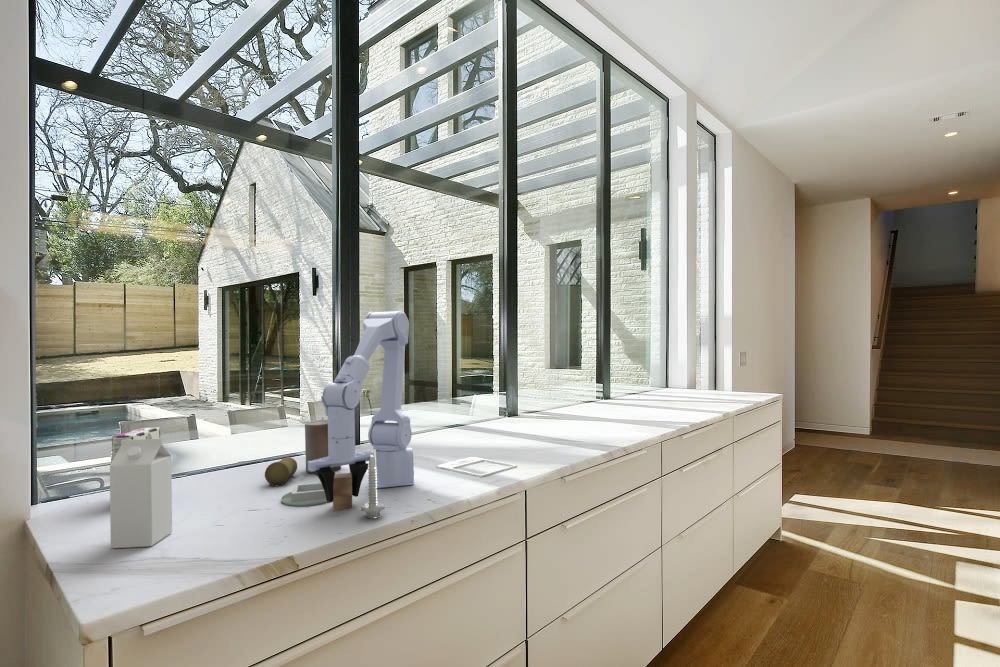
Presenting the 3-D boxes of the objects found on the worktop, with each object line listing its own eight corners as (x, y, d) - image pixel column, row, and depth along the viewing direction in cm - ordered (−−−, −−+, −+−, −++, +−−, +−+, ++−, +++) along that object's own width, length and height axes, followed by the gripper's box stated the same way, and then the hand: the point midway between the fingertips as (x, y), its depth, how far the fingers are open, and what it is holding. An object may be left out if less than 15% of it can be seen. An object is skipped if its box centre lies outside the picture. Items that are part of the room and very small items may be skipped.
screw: (376, 511, 115) (389, 516, 111) (356, 517, 111) (369, 522, 108) (375, 450, 115) (388, 453, 111) (355, 454, 111) (368, 457, 108)
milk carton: (133, 534, 103) (132, 436, 103) (172, 533, 104) (171, 435, 104) (110, 549, 96) (109, 443, 96) (151, 547, 97) (150, 442, 97)
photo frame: (472, 456, 164) (517, 464, 152) (472, 459, 164) (517, 468, 152) (436, 464, 153) (481, 474, 141) (436, 468, 153) (481, 478, 141)
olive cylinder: (282, 457, 137) (293, 450, 148) (260, 469, 136) (273, 461, 147) (293, 478, 137) (304, 469, 148) (271, 490, 136) (284, 480, 147)
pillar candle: (348, 468, 154) (347, 416, 155) (320, 475, 146) (319, 420, 146) (325, 464, 160) (324, 414, 160) (297, 471, 151) (296, 418, 152)
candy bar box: (141, 494, 131) (140, 427, 131) (162, 493, 131) (161, 426, 132) (111, 508, 120) (110, 435, 120) (134, 507, 120) (133, 434, 120)
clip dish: (339, 487, 134) (339, 478, 134) (340, 502, 121) (340, 492, 121) (284, 492, 130) (284, 483, 130) (278, 509, 117) (278, 498, 117)
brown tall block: (351, 503, 121) (351, 472, 121) (352, 508, 117) (351, 476, 117) (333, 505, 119) (332, 474, 119) (333, 510, 116) (332, 478, 116)
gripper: (363, 430, 126) (364, 488, 126) (302, 438, 117) (303, 501, 116) (377, 434, 121) (378, 494, 120) (314, 443, 111) (315, 508, 111)
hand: (342, 498), depth 118 cm, fingers closed on brown tall block, 5 cm apart
